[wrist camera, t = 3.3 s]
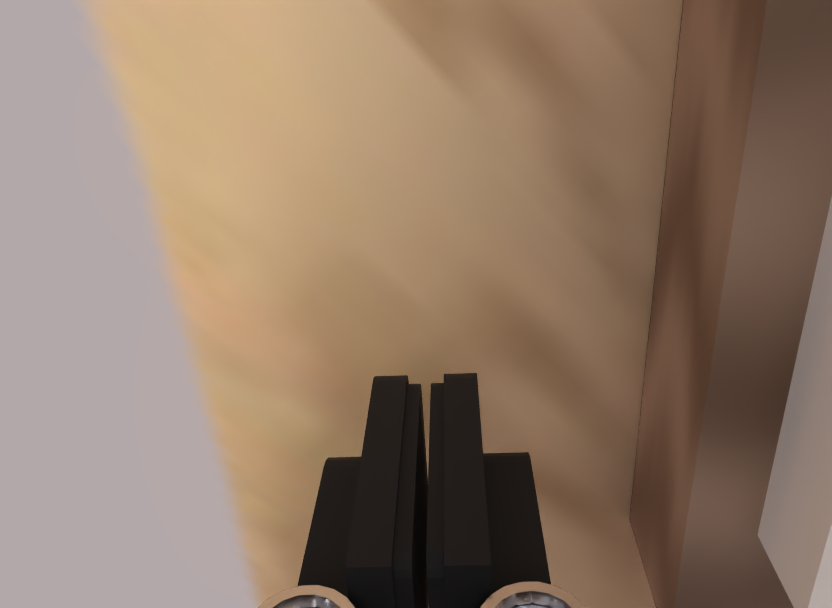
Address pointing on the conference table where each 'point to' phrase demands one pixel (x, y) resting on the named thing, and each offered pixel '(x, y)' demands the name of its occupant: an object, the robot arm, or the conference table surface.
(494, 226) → the conference table surface
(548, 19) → the conference table surface
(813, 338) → the white rectangular block
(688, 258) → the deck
